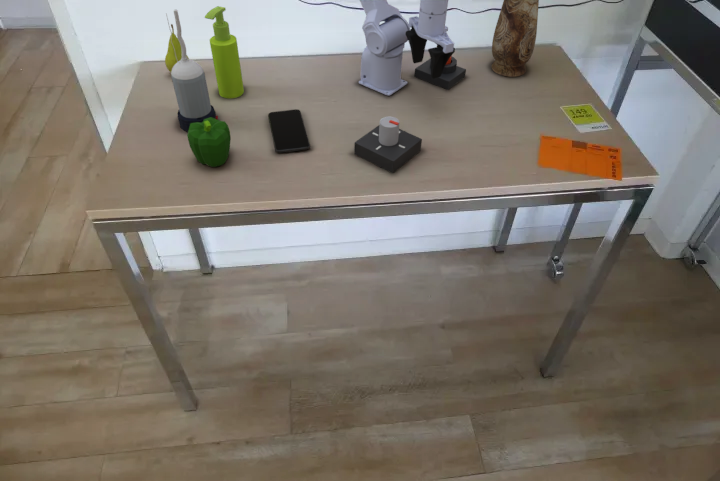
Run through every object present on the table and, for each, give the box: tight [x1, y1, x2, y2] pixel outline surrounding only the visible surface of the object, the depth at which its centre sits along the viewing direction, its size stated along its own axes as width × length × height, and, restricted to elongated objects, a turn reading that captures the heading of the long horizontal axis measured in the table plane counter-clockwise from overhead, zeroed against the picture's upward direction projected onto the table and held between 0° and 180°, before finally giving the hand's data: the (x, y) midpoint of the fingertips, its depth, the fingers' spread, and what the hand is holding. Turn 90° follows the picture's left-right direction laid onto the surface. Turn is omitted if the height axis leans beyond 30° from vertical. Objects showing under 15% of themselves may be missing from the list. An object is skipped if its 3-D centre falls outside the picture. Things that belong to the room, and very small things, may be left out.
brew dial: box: [378, 116, 401, 146], centre depth 114 cm, size 4×4×5 cm
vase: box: [491, 0, 540, 78], centre depth 134 cm, size 10×11×30 cm
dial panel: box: [353, 124, 423, 174], centre depth 117 cm, size 10×10×3 cm
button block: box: [413, 56, 467, 90], centre depth 140 cm, size 10×8×4 cm
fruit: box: [164, 23, 190, 73], centre depth 135 cm, size 6×6×12 cm
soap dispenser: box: [204, 5, 245, 99], centre depth 127 cm, size 6×7×20 cm
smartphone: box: [267, 109, 311, 154], centre depth 122 cm, size 7×1×15 cm
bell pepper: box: [186, 117, 232, 168], centre depth 112 cm, size 8×8×10 cm
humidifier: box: [165, 9, 219, 133], centre depth 116 cm, size 8×8×25 cm
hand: (426, 69), depth 127 cm, fingers open, 7 cm apart
